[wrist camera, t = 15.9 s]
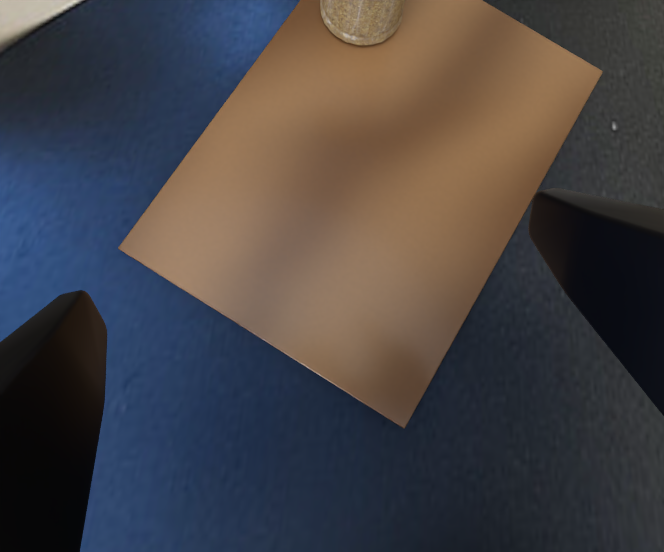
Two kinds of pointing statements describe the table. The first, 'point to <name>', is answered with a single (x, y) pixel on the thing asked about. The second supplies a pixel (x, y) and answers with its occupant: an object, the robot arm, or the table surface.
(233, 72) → the table surface
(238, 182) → the cork placemat
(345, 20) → the sprinkles bottle
